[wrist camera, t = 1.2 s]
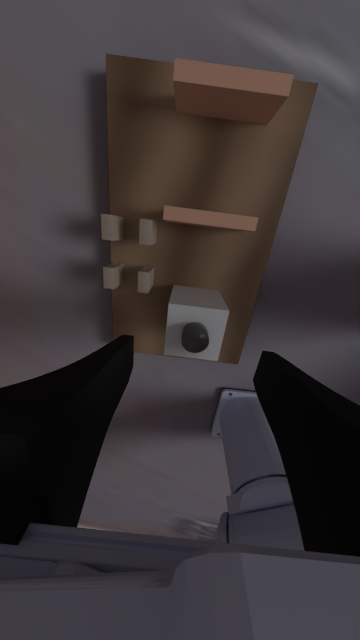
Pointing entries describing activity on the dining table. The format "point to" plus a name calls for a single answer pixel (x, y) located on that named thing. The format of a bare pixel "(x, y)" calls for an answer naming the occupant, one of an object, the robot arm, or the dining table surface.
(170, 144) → the board
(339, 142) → the dining table surface
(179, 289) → the block
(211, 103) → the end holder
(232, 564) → the robot arm
